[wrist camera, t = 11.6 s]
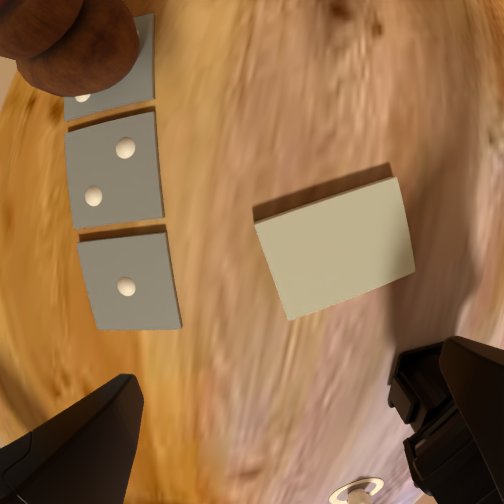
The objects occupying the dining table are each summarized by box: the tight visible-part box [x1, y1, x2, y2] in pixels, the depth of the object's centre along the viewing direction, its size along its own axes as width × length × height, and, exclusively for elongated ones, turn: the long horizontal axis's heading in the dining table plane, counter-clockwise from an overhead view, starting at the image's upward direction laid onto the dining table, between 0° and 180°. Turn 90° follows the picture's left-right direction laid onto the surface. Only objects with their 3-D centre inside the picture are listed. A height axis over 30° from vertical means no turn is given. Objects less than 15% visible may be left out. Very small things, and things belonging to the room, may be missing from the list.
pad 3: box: [77, 232, 182, 330], centre depth 20 cm, size 7×7×1 cm
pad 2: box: [65, 112, 165, 229], centre depth 18 cm, size 7×7×1 cm
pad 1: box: [64, 13, 155, 122], centre depth 16 cm, size 7×7×1 cm
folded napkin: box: [254, 177, 416, 321], centre depth 19 cm, size 10×7×1 cm
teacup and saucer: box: [329, 478, 384, 504], centre depth 28 cm, size 9×8×4 cm
